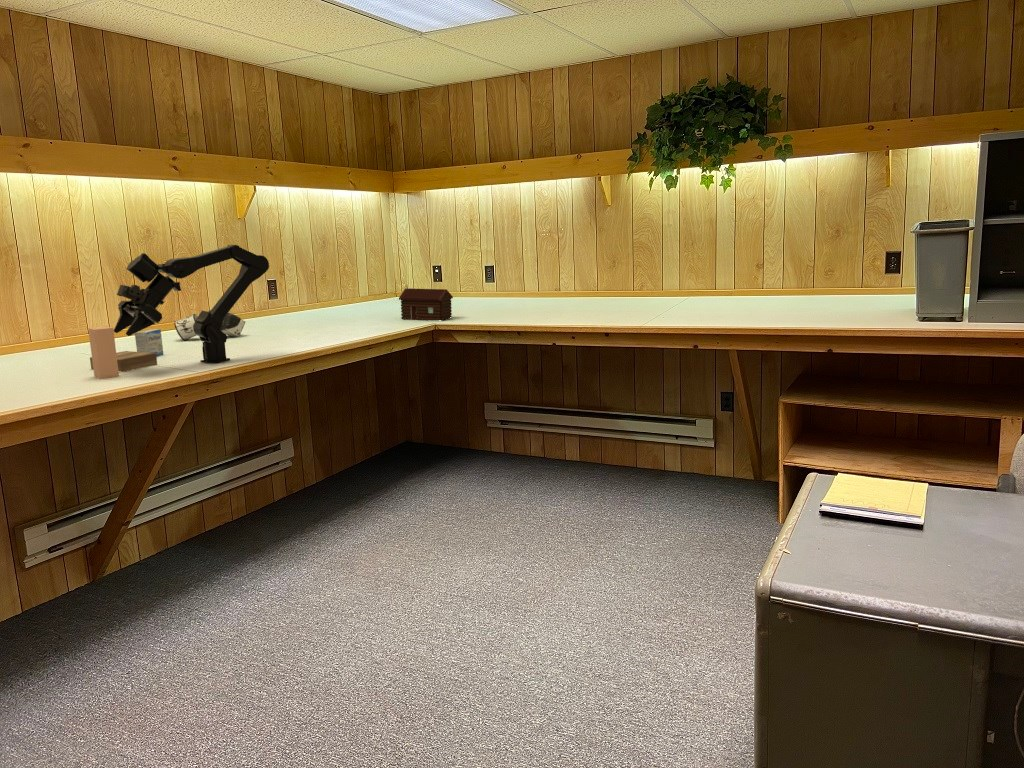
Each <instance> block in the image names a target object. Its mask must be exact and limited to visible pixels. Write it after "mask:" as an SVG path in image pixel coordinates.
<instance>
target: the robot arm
mask: <svg viewBox="0 0 1024 768" xmlns="http://www.w3.org/2000/svg"><path fill="white" fill-rule="evenodd" d="M229 260H234V261H235V262H237V263H238V264H240V265H241V266H240V268H239V273H238V275H237V276H236V278H235V279H234V281H232V283H231V284H230V285H229V287H228V288H227V289H226V290H225V292H224V293H223V294H222V296H221V297H220V298H219V299H218V301H216V303H215V304H214V305H213V307H212V308H211V309H210V310H208V311H206V310H201V311H200V312H199V315H197V316H198V317H197V318H196V319H195V320H194V321H196V322H195V323H194V325H193V330H194V332H195V334H196V335H197V336H196V337H198V338H199V339H200V341H201V342H202V346H201V347H202V358H203V359H199V360H200V363H209V364H213V363H214V364H217V363H221V362H225V361H230V360H231V358H230V357H227V352H226V351H227V350H226V343H227V340H228V335H226V334H224V333H223V332H222V331H221V330H220V329H221V327H222V325H223V321H224V318H225V316H226V315H227V313H230V311H231V309H232V308H234V306H235V305H236V303H237V302H238V300H239V299H240V298H241V297H242V295H243V294H244V293H245V291H247V289H248V288H249V286H250V285H251V284H252V283H253V282H255V281H257V280H258V279H259V278H261V277H262V276H263V275H264V274H265V273H267V272H268V270H269V269H270V263H269V260H268V259H267V257H266V256H264V255H261V254H255V253H253V252H252V251H248V250H247V249H244V248H243V247H241V246H240V245H238V244H228V245H227V246H224V247H221V248H216V249H214V250H210V251H207V252H205V253H200V254H197V255H195V256H188V257H177V258H176V257H175V258H169V259H167V260H166V261H165V263H160V264H159V263H156V262H155V261H154V260H153V259H151V258H150V257H149V255H147V254H146V252H145V253H144V252H142V253H141V254H139V255H138V256H137V257H136V258H134V259H132V260H131V261H130V262H129V263H128V265H127V267H126V270H127V271H128V272H129V273H130V274H132V275H133V276H134V277H136V278H137V279H138V280H139V281H140V282H141V283H145V282H147V283H148V285H147V286H146V288H140V287H141V286H139V285H136V284H131V285H130V286H129V285H125V284H120V285H119V288H118V289H117V290H118V291H117V293H116V295H117V296H119V297H124V298H126V299H129V300H121V301H120V302H119V303H118V304H117V307H118V309H117V310H118V311H119V317H118V319H117V322H116V323H115V327H114V328H113V330H114V334H118V333H120V332H122V331H123V330H125V329H126V328H128V329H127V330H126V332H125V335H126V336H128V337H129V336H130V337H131V336H132V335H135V333H136V332H140V331H144V330H145V329H147V328H149V327H152V326H153V325H156V324H159V323H160V321H162V319H163V314H162V313H161V312H160V311H159V310H158V309H157V308H158V307H159V306H160V305H163V304H164V303H165V301H164V300H165V298H166V297H167V296H168V295H169V294H170V293H171V291H172V290H173V291H175V292H181V291H182V288H181V282H180V281H174V280H173V279H179V280H180V279H185V278H186V277H189V276H190V275H192V274H194V273H195V272H197V271H198V270H201V269H202V268H205V267H209V266H212V265H215V264H219V263H221V262H222V263H223V262H226V261H229ZM162 273H163V274H166V276H165V275H163V274H162Z"/></svg>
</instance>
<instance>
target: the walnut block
mask: <svg viewBox="0 0 1024 768" xmlns="http://www.w3.org/2000/svg"><path fill="white" fill-rule="evenodd" d="M116 355H117V364H118V371H121V372H120V373H124V372H127V370H129V371H133V370H132V369H134V370H137V369H138V370H139V369H142V368H143V369H144V368H147V367H152V366H157V365H158V360H157V359H158V356H156V353H147V352H137V351H133V350H132V351H129V350H124V351H119V352H116ZM89 363H90V369H91V370H93V362H92V356H90V357H89ZM123 371H124V372H123Z"/></svg>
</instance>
